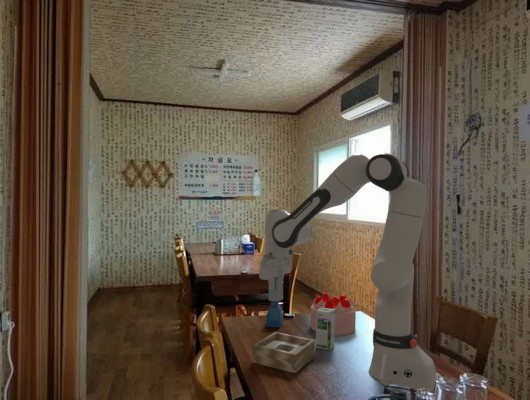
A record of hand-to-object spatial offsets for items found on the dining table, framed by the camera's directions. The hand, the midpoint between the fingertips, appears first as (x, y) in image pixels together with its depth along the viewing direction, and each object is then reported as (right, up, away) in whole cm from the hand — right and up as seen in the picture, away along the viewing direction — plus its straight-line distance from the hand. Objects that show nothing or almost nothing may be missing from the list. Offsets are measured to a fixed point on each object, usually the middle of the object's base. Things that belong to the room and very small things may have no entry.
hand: (275, 287), depth 150 cm
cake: (+26, -23, +23) cm, 42 cm away
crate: (+3, -23, -12) cm, 26 cm away
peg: (0, -5, 0) cm, 5 cm away
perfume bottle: (0, -23, +26) cm, 34 cm away
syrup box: (+19, -23, 0) cm, 30 cm away
